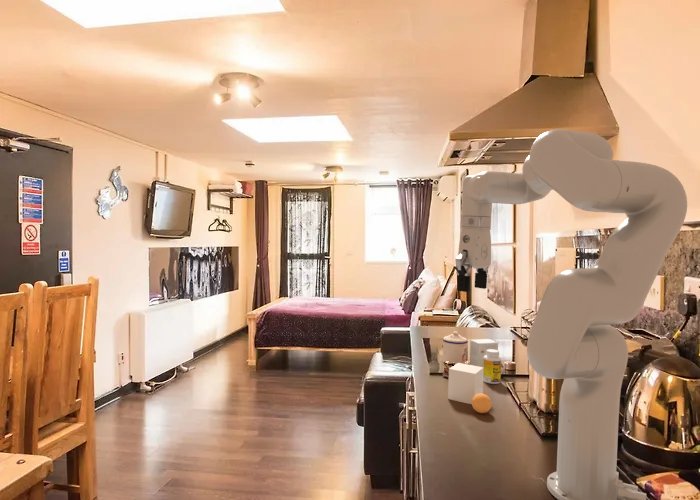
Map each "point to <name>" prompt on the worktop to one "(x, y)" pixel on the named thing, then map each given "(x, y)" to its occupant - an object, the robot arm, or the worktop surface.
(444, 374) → the pastry
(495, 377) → the supplement bottle
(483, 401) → the ball
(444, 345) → the teacup with lid
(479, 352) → the small box
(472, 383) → the cream matte cube
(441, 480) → the worktop surface
